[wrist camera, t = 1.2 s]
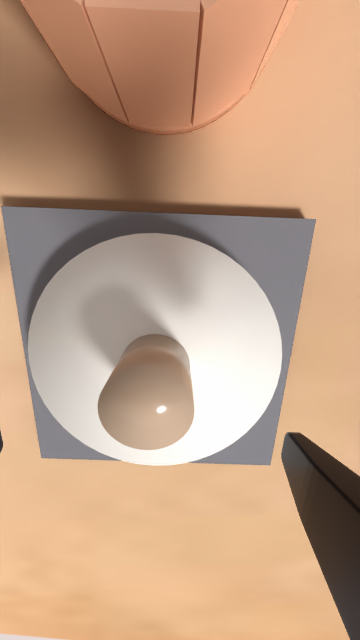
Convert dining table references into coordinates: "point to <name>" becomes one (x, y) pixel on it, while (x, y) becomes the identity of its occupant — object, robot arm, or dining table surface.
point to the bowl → (162, 54)
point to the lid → (154, 349)
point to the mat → (214, 230)
